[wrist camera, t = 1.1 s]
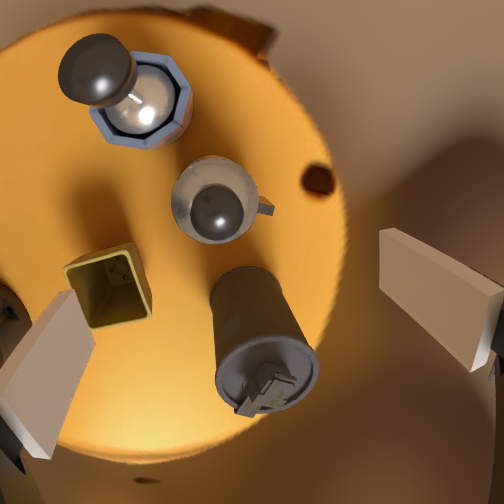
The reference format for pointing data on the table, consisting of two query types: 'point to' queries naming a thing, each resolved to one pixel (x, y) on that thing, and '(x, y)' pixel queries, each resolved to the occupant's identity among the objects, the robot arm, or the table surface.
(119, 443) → the table surface
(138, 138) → the blue mug
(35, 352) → the robot arm
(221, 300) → the canister
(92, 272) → the flower pot
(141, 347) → the table surface
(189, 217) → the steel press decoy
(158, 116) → the plunger
